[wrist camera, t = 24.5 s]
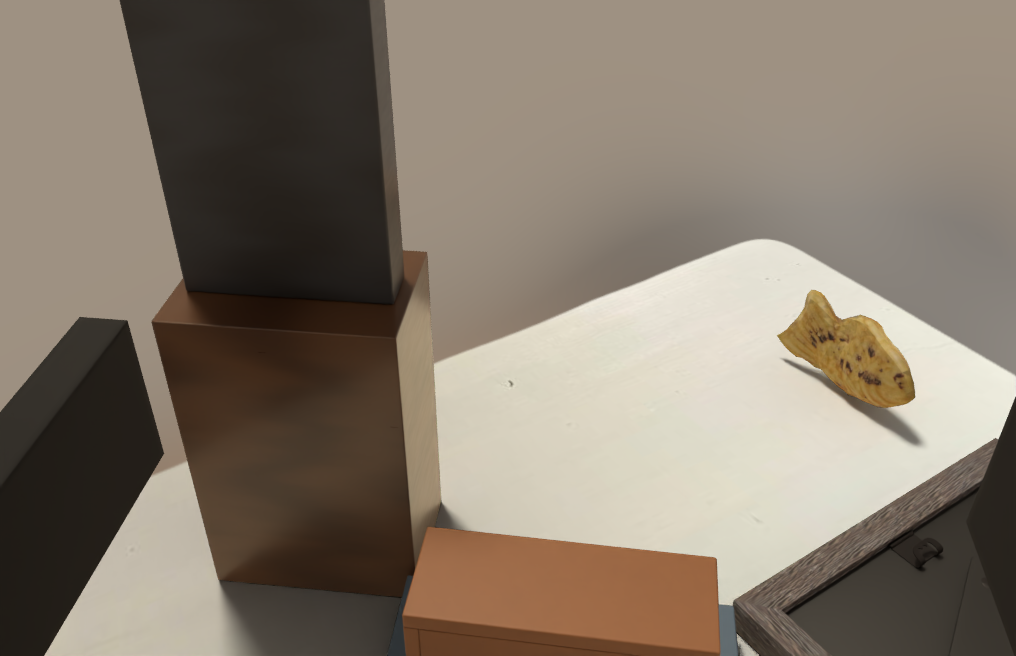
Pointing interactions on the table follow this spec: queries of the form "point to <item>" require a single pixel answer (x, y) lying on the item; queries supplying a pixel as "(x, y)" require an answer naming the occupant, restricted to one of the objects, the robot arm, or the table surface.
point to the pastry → (850, 353)
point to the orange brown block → (557, 599)
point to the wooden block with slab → (291, 289)
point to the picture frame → (887, 583)
